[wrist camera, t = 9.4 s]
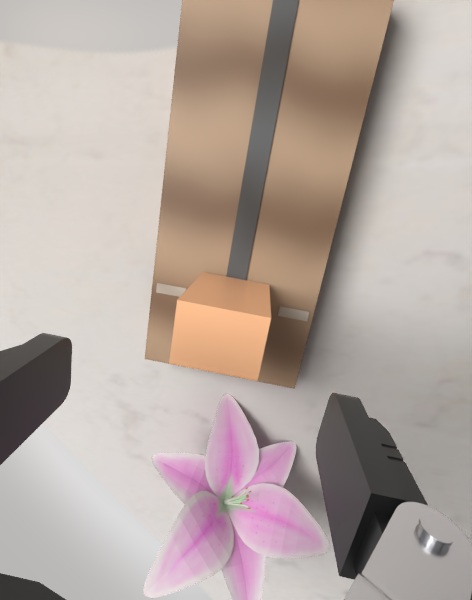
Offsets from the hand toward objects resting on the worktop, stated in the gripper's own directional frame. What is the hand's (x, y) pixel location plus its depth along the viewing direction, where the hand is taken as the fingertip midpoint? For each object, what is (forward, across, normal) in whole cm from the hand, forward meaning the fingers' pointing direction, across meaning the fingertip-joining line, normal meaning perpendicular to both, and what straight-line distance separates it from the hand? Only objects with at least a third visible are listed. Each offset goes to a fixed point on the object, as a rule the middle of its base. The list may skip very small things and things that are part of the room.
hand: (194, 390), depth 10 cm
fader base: (+13, 0, -6) cm, 14 cm away
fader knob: (+10, 0, 0) cm, 10 cm away
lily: (+13, -3, +13) cm, 19 cm away
